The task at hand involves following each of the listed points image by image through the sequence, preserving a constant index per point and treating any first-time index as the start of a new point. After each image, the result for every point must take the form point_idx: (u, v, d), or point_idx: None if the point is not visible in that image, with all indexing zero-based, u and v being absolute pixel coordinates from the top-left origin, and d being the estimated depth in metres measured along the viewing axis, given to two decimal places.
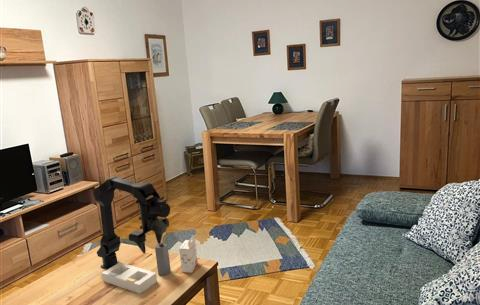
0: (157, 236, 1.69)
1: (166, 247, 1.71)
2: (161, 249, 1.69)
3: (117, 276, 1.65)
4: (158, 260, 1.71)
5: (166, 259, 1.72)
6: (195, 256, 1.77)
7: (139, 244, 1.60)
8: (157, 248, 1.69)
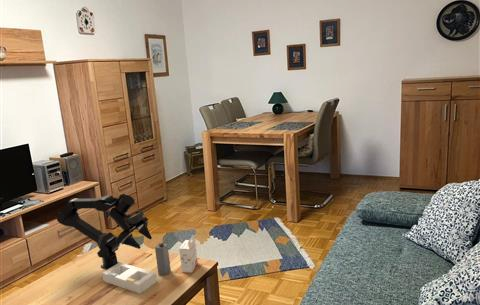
0: (145, 234, 1.78)
1: (166, 247, 1.71)
2: (161, 249, 1.69)
3: (117, 276, 1.65)
4: (158, 260, 1.71)
5: (166, 259, 1.72)
6: (195, 256, 1.77)
7: (130, 243, 1.68)
8: (157, 248, 1.69)
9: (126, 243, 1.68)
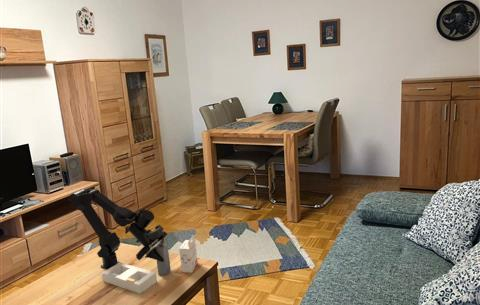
0: None
1: (166, 247, 1.71)
2: (161, 249, 1.69)
3: (117, 276, 1.65)
4: None
5: (166, 259, 1.72)
6: (195, 256, 1.77)
7: (153, 256, 1.69)
8: (157, 248, 1.69)
9: (149, 256, 1.69)
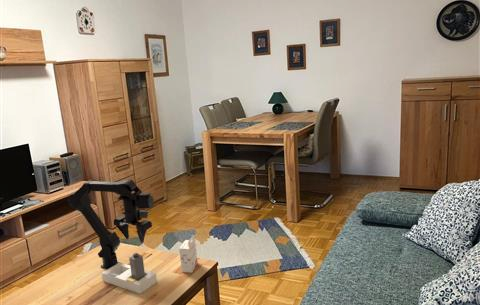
0: (125, 232, 1.79)
1: (140, 259, 1.62)
2: (133, 260, 1.61)
3: (117, 276, 1.65)
4: (132, 270, 1.63)
5: (139, 271, 1.63)
6: (195, 256, 1.77)
7: (142, 234, 1.73)
8: (130, 258, 1.62)
9: (140, 233, 1.72)
